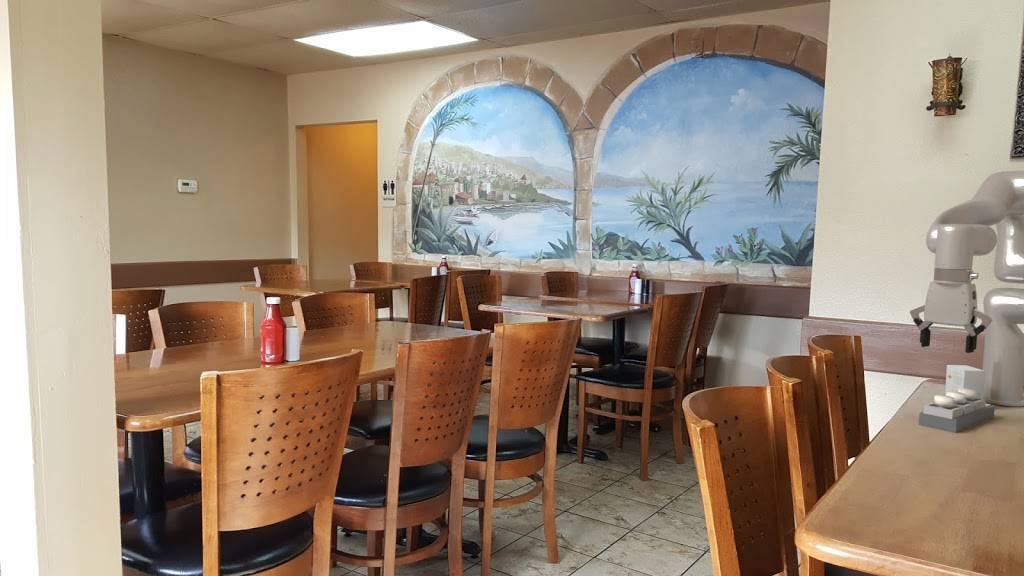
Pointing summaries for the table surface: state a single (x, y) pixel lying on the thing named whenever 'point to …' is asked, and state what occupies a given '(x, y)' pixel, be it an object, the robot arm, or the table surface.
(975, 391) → the button
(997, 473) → the table surface
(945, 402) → the button
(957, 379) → the small box
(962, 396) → the button middle
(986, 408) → the button board
